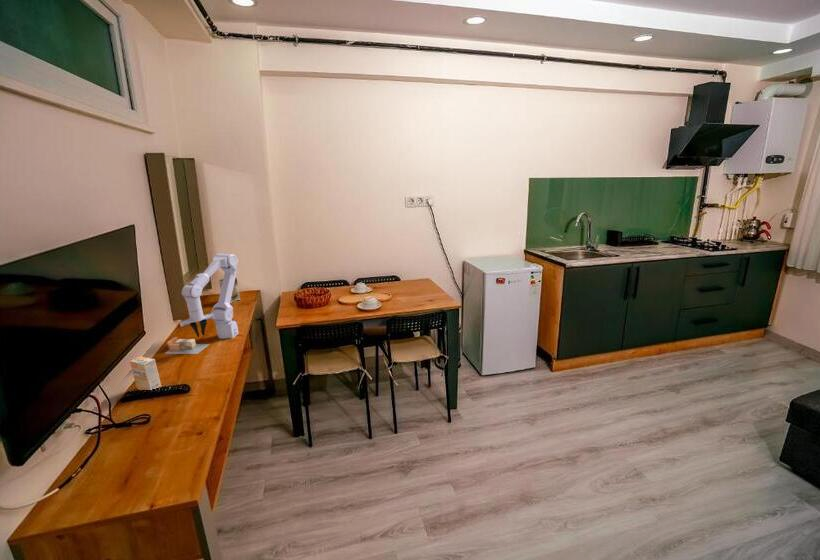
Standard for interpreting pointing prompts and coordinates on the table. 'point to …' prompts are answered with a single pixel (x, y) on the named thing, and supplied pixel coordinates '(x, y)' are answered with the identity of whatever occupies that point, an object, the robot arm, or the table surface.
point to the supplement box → (145, 373)
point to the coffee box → (235, 291)
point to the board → (189, 350)
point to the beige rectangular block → (186, 343)
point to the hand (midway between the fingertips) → (200, 335)
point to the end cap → (173, 344)
